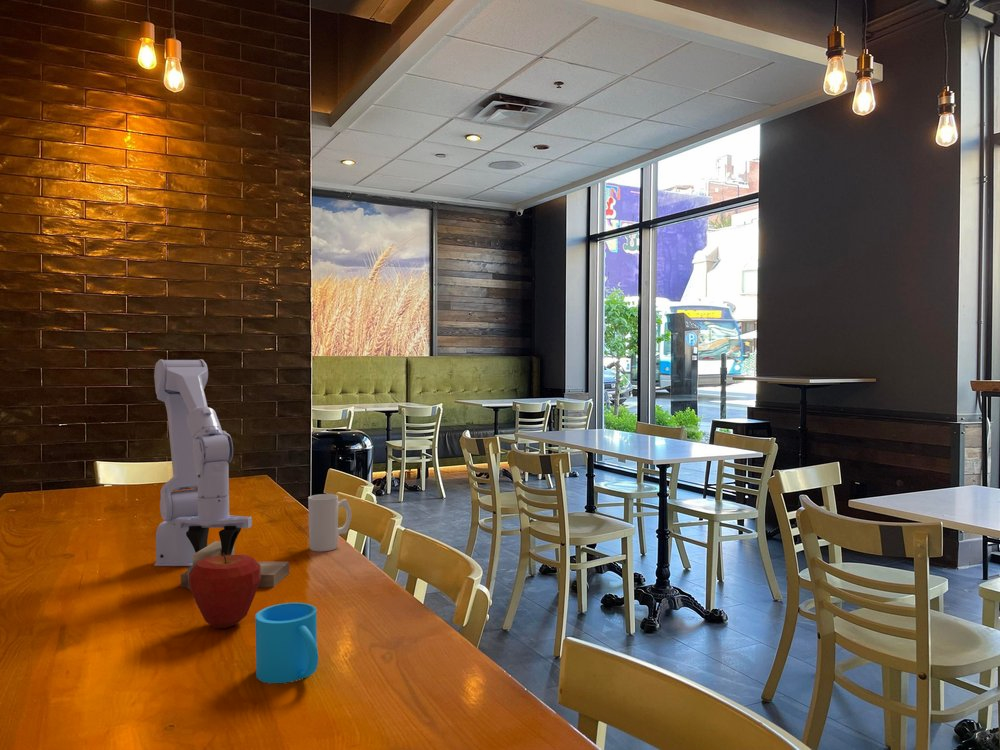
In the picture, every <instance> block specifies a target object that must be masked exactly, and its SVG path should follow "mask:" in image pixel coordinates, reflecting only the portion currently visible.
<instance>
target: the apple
mask: <svg viewBox="0 0 1000 750" xmlns="http://www.w3.org/2000/svg"><path fill="white" fill-rule="evenodd" d="M258 562H259V561H257V560H256V559H255V558H254V557H252V556H251V555H247V554H235V555H225V554H224V553H223V556H216V557H210V558H204V559H202V560H201V561H199V562H198V563H197V564H196V565H195V566H194V567H193V569H192V570H191V571H190V573H189V587H190V589H189V590H190V592H191V595H192V596H193V599H194V601H195V604H196V605H197V607H198V609H199V612H200V613H201V615H202V618H203V619H204V621H205V622H206V623H207V624H209V625H210V626H212V627H213V628H215V629H225V628H229V627H233V626H235V625H237V624H238V623H241V621H243V619H244V618H246V617H247V615H248V612H249V610H250V608H251V605H252V604H253V601H254V598H255V596H256V593H257V590H258V588H259V587H258V584H259V581H260V578H261V568H260V564H259V563H258Z"/></svg>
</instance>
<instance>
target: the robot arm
mask: <svg viewBox="0 0 1000 750" xmlns="http://www.w3.org/2000/svg"><path fill="white" fill-rule="evenodd" d="M153 378H154V387H155V394H156V399H157V400H158V401H160V402H162V403H164V405H165V408H166V413H167V424H168V434H169V445H170V454H171V455H170V456H171V466H172V477H171V478H170V479H169V480H167V482H165V483H164V484H163V485H162V487H161V489H160V492H159V493H160V498H159V512H160V516H161V518H162V520H163V521H162V522H160V523H159V525H158V526H157V529H156V533H155V561H156V562H155V563H154V567H191V566H192V565H193V554H195V553H196V552H198V551H200V550H201V549H203V548H205V547H206V546H208V538H209V531H210V528H213V529H214V528H215V529H217V528H219V529H220V530H219V531H218V535H219V539H220V540H219V541H221V548H222V556H223V553H224V554H225V555H231V553H232V550H233V546H234V544H235V543H236V541H237V539H238V536H239V534H240V532H241V531H242V528H243V529H250V528H252V526H253V519H252V516H243V515H242V516H241V515H231V514H230V488H229V487H230V484H229V483H230V482H229V481H230V479H229V478H230V477H229V475H230V474H229V473H230V472H229V470H230V469H229V463H231V462H232V460H233V456H234V444H233V439H232V437H231V435H230V434H229V433H227V431H226V430H222V426H221V423H220V421H219V418H218V416H217V413H216V410H214V409H213V408H211V407H208V401H207V398H206V394H205V391H204V390H205V388H206V385H207V383H208V378H209V369H208V365H207V363H206V362H205V360H204V359H200V358H199V359H158V361H157V362H156V363H155V366H154V374H153ZM221 528H222V529H221Z"/></svg>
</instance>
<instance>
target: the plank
mask: <svg viewBox="0 0 1000 750" xmlns="http://www.w3.org/2000/svg"><path fill="white" fill-rule="evenodd" d="M257 562H258V563H259V564H260V568H261V578H260V581H259V584H258V587H257V588H275V587H276V586H277V585H278V584H279V583H280V582H282V580H284V579H285V578H286V577H287V576H288V575H289V574H290V561H257ZM180 588H188V570H187V571H185V572H183V573H181V574H180Z"/></svg>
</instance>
